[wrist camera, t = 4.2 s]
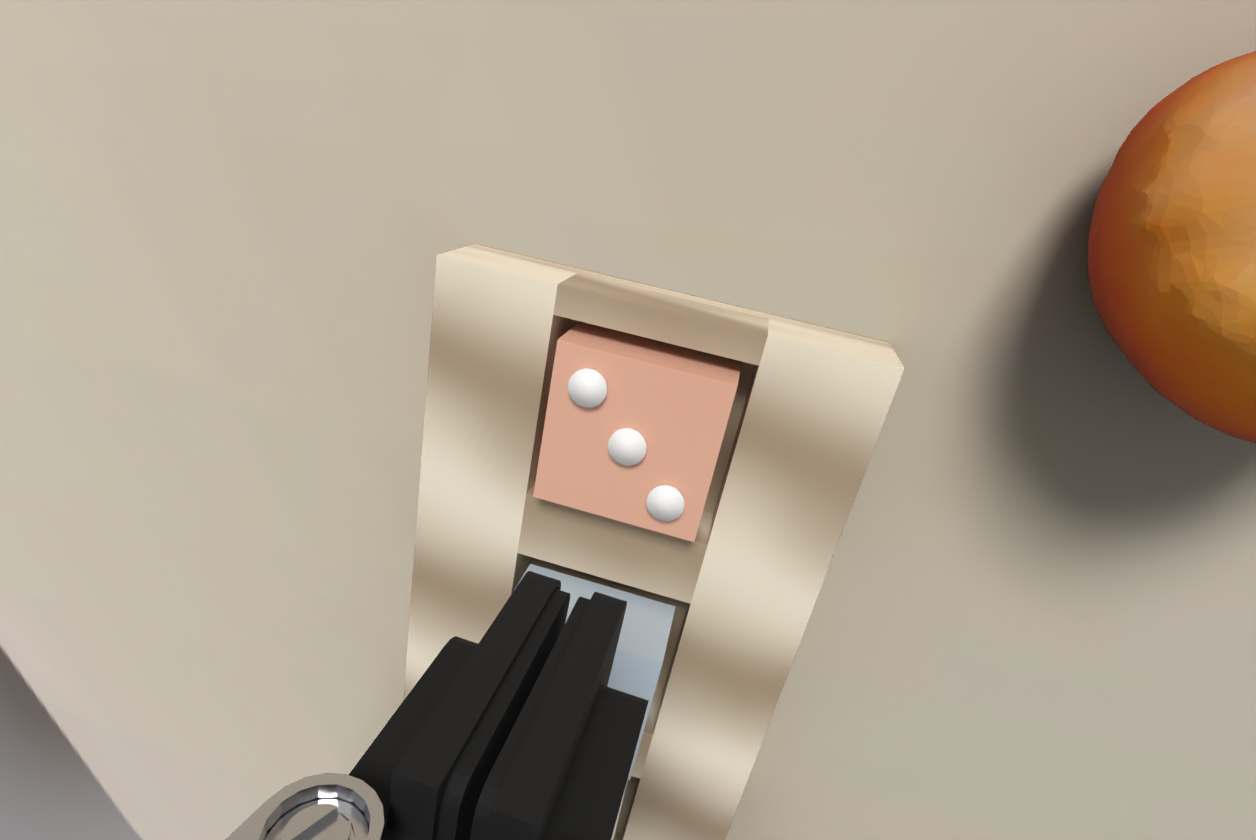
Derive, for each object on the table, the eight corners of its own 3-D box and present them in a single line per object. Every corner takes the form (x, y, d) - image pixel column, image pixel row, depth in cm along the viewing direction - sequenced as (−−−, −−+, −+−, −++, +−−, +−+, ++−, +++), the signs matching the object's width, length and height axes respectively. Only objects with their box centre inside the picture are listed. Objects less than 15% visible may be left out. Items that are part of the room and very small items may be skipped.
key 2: (644, 717, 22) (628, 786, 19) (512, 675, 22) (480, 737, 20) (675, 606, 20) (661, 667, 17) (530, 563, 20) (497, 617, 18)
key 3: (703, 500, 20) (693, 546, 18) (558, 460, 21) (530, 500, 18) (742, 358, 18) (737, 387, 16) (583, 318, 19) (555, 341, 16)
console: (700, 859, 27) (693, 921, 25) (424, 766, 28) (394, 817, 26) (888, 342, 18) (904, 368, 16) (475, 244, 19) (436, 255, 17)
